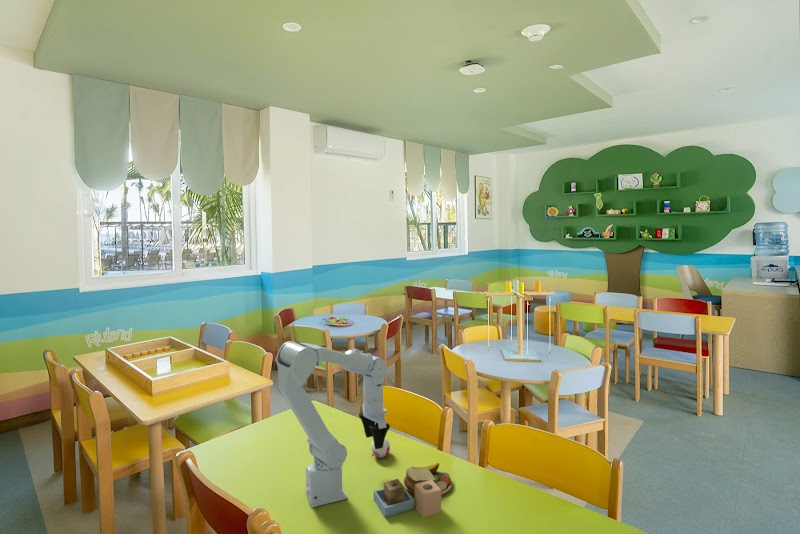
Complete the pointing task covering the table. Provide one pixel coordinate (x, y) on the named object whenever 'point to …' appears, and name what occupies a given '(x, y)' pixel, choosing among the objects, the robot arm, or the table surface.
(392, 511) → the tray
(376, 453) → the stress ball
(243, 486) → the table surface
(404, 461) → the table surface
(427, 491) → the terracotta block
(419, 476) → the toy sandwich meal
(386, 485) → the walnut block
